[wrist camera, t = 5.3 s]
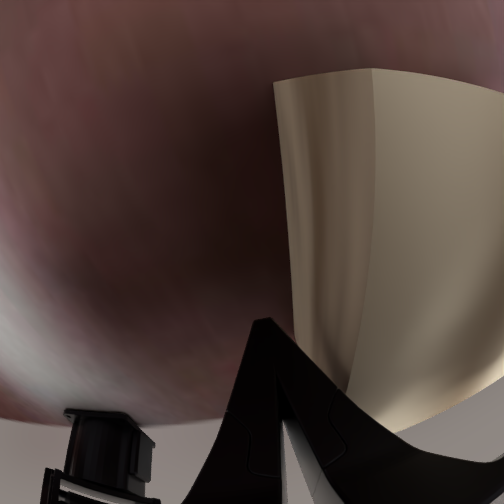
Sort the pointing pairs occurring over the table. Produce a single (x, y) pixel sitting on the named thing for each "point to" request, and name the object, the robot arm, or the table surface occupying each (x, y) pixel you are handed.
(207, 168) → the table surface
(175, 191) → the table surface
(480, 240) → the block
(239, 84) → the table surface
